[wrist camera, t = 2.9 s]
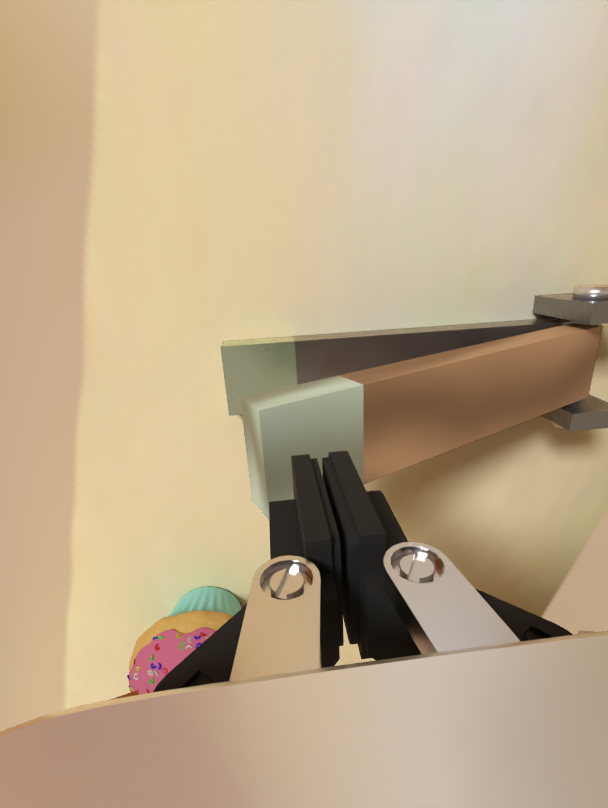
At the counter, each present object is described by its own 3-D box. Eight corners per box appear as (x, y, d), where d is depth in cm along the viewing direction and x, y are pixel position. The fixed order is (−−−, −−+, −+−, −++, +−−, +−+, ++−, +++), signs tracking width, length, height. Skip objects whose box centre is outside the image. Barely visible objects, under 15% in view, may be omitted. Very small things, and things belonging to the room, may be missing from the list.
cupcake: (248, 553, 28) (238, 748, 17) (279, 638, 31) (288, 851, 20) (130, 584, 28) (41, 800, 17) (172, 666, 31) (120, 896, 20)
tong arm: (240, 397, 13) (258, 410, 12) (572, 322, 23) (602, 325, 21) (251, 499, 15) (269, 520, 14) (560, 390, 24) (588, 396, 23)
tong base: (218, 305, 22) (208, 316, 18) (585, 282, 24) (654, 287, 20) (234, 436, 25) (228, 472, 21) (562, 408, 26) (618, 436, 22)
